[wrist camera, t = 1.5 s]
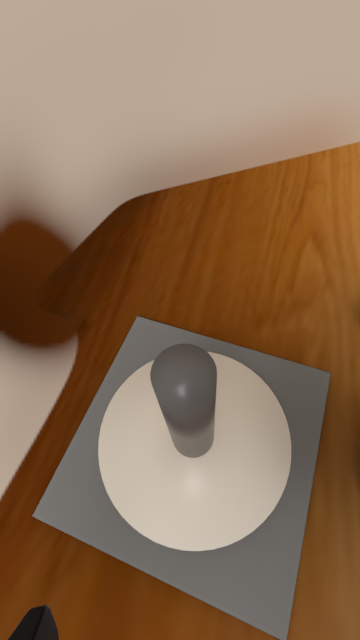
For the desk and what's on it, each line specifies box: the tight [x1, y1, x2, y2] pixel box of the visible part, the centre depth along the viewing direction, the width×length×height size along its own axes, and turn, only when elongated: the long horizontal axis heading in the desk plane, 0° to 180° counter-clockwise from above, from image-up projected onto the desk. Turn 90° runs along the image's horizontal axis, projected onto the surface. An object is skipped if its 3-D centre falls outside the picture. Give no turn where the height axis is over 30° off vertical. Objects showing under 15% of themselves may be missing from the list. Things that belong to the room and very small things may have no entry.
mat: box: [33, 316, 331, 640], centre depth 22 cm, size 15×15×1 cm
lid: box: [98, 344, 291, 551], centre depth 18 cm, size 12×12×10 cm
